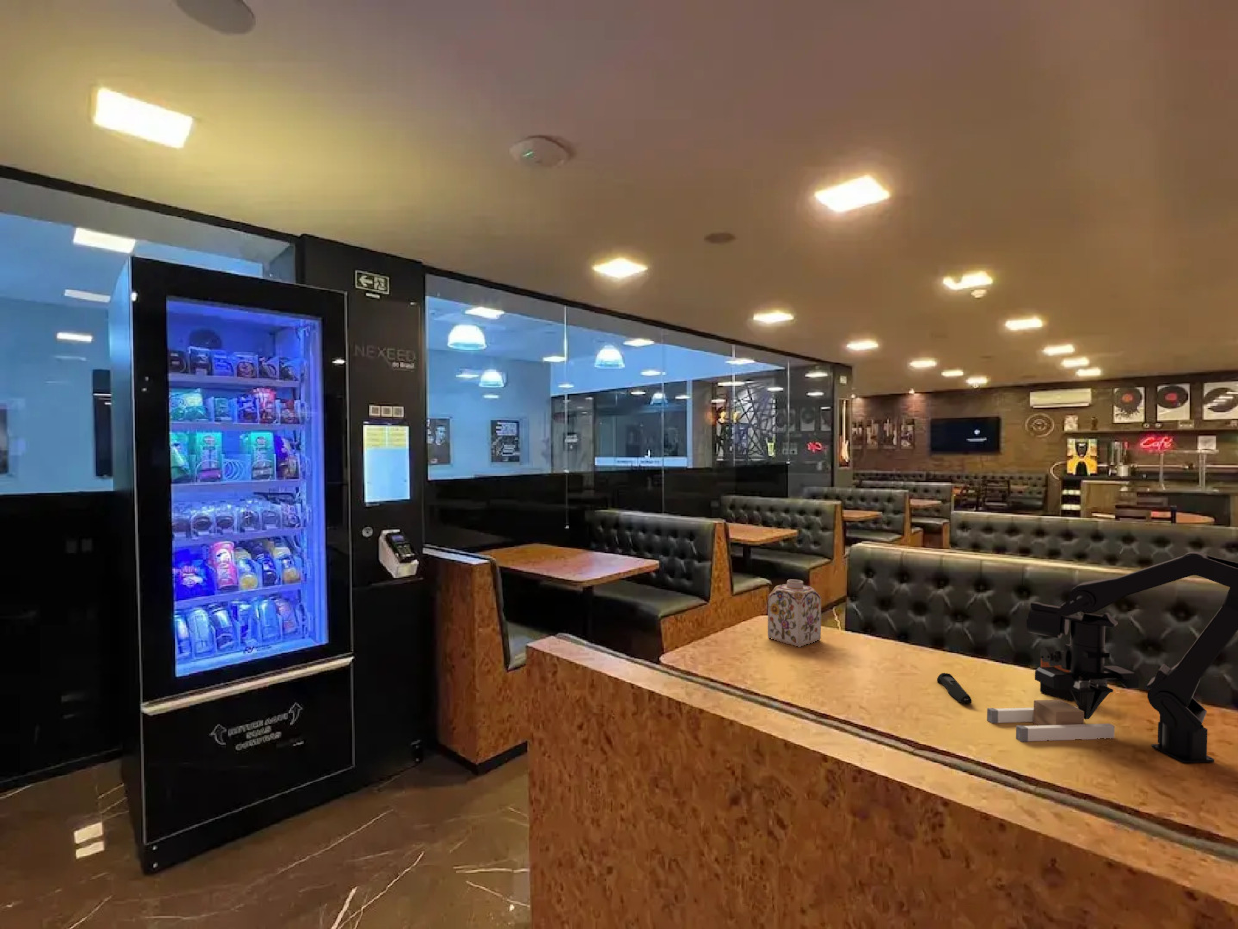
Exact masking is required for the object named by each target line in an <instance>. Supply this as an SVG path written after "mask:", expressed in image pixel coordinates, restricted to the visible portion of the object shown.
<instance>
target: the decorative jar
mask: <svg viewBox="0 0 1238 929" xmlns="http://www.w3.org/2000/svg"><path fill="white" fill-rule="evenodd" d="M767 603H768V604H767V609H768V610H767V638H768V639H769V638H772V639H774V640H773V641H775V640H777V641H776V642H779V641H780V642H779V643H782V642H783V643H782V644H785V643H786V645H789V644H792V645H791V646H793V645H795V646H794V647H796V646H798V647H797V648H802V647H805V646H807V645H806V644H808V645H811V644H814V643H816V642H815V641H817V640H820V639H821V638H822V636H821V633H822V596H821V595H820V594H819V593H818V591H817V590H816V589H815V588H813V587H812V586H809V585H805V584H804V581H803V580H801V579H791V578H790V579H788V580H787V581H786V583H785V584H784V583H783V584H779V585H776V586H775V587H774V588H773V589H772V591H770V593H768V602H767ZM820 641H821V640H820ZM813 642H814V643H813ZM817 642H818V641H817ZM810 643H811V644H810ZM804 645H805V646H804ZM801 646H802V647H801Z"/></svg>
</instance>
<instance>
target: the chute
mask: <svg viewBox="0 0 1238 929" xmlns="http://www.w3.org/2000/svg"><path fill="white" fill-rule="evenodd" d="M1073 706H1074V705H1073ZM1074 707H1076V708H1078V707H1077V706H1074ZM1033 715H1034V707H1008V708H1003V707H1002V708H994V707H986V721H988V722H989V723H991V724H999V723H1000V724H1001V723H1003V724H1004V723H1006V724H1007V723H1029V722H1030V723H1033ZM1097 738H1098V739H1097ZM1100 738H1104V739H1103V740H1105V739H1106V738H1110V739H1111V738H1113V739H1115V725H1114V724H1112V723H1109V722H1108V723H1084V724H1074V725H1040V726H1037V725H1020V724H1019V725H1015V739H1016V740H1018V741H1019V742H1021V743H1024V742H1026V743H1027V742H1041V741H1042V742H1043V741H1044V742H1046V741H1047V740H1049V741H1073V740H1074V741H1076V740H1075V739H1082V740H1101V739H1100ZM1110 739H1109V740H1110ZM1111 740H1112V739H1111ZM1049 741H1048V742H1049Z"/></svg>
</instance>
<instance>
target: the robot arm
mask: <svg viewBox="0 0 1238 929" xmlns="http://www.w3.org/2000/svg"><path fill="white" fill-rule="evenodd" d="M1191 576H1196V577H1197V576H1198V577H1201V578H1204V579H1206V580H1209V581H1211V582H1215V583H1217V584H1220V585H1223V586H1225V587H1228V588H1229V589H1228V591H1227V594H1226V597H1224V601H1223V603H1222V606H1221V607H1220V608H1219V609H1218V611H1217V612H1216V614H1215V615H1214V616H1213V617H1212V619H1211V620H1210V621H1209V623H1208V624H1207V625H1206V627H1205V628H1204V629H1203V631H1202V632H1201V633H1200V634H1199V636H1198V637H1197V638H1196V640H1195V641H1194V643H1193V644H1191V645H1192V646H1191V647H1190V648H1189V649H1188V651H1186V653H1185V654H1184V655H1183V657H1182V658H1181V659H1180V661H1179V662H1177V664H1175V665H1173V666H1172V667H1169V666H1167V664H1165V663H1163V664H1161V666H1160V668H1159V669H1158V671H1157V673H1156V675H1155V676H1154V677H1152V678H1150V681H1149V682H1148V683H1147V684H1146V688H1147V689H1149V690H1148V692H1147V696H1146V697H1147V700H1148V702H1149V705H1150V707H1152V708H1153V709H1154V710H1155V711H1157V712H1158V714H1159V722H1157V743H1152V744H1151V748H1152V749H1153V748H1154V749H1155V750H1157V751H1159V752H1161V753H1162V754H1164V755H1167V756H1168V757H1170V758H1173V759H1175V760H1177V761H1178V762H1180V763H1184V764H1188V763H1189V764H1191V763H1192V764H1193V763H1195V764H1196V763H1214V762H1215V758H1213V757H1211V756H1209V755H1208V753H1207V752H1208V728H1206V727H1205V726H1204V725H1203V723H1204V720H1205V718H1206V715H1207V714H1208V713H1207V712H1208V711H1207V709H1206V708H1204V707H1203V706H1202V705H1201V704H1200V703H1199V702H1198V701H1197V700H1196V699H1195V698H1194V694H1195V693H1196V690H1197V688H1198V685H1199V683H1200V681H1201V678H1202V677H1203V675H1204V674H1205V673H1206V672H1207V671H1208V670H1209V668H1210V666H1211V665H1212V664H1213V663H1214V661H1215V660H1216V659H1217V657H1218V656H1219V655H1220V654H1221V652H1222V651H1223V650H1224V649H1225V647H1226V646H1227V645H1228V643H1229V642H1230V641H1231V640H1232V638H1233V637H1234V635H1236V633H1237V632H1238V562H1236V561H1233V560H1227V559H1224V558H1219V557H1216V556H1212V555H1209V554H1208V555H1207V554H1205V553H1203V552H1200V551H1190V552H1186V553H1185V554H1183V555H1182V556H1178V557H1175V558H1172V559H1169V560H1167V561H1166V560H1165V561H1163V562H1160V563H1157V564H1154V565H1151V566H1148V567H1145V568H1142V569H1138V570H1136V571H1132V572H1130V573H1127V574H1124V575H1121V576H1116V577H1109V578H1101V579H1094V580H1089V581H1083V582H1081V583H1079V584H1077V585H1076V586H1074V587H1072V588H1071V589H1070V590H1069V593H1068V600H1067V601H1065V602H1064V603H1062V604H1061V605H1060V606H1058V605H1051V604H1045V603H1042V602H1039V601H1033V602H1031V603H1030V609H1029V612H1028V615H1027V618H1026V629H1027V630H1026V631H1027V632H1028V633H1030V634H1035V635H1040V636H1045V637H1050V638H1056V639H1061V638H1062V636H1063V635H1065V636H1067V635H1068V633H1069V630H1070V633H1069V634H1070V637H1069V644H1066V643H1065V645H1064V646H1063V650H1056V649H1055V647H1053V646H1041V647H1040V653H1039V656H1040V661H1041V660H1042V661H1043V662H1049V666H1050V667H1041V666H1038V667H1037V668H1036V669H1035V671H1034V680H1035V681H1037V682H1039V683H1040V682H1041V683H1043V684H1045V685H1047V686H1049V687H1051V688H1053V689H1057V690H1070V691H1071V693H1072V695H1073V697H1074V699H1075V700H1074V701H1075V704H1076V707H1077V708H1078V709H1080V710H1082V711H1084V720H1089V719H1091V717H1092V716H1093V715H1094V713H1095V711H1096V710H1097V709H1098V707H1099V706H1100V705H1101V704H1102V702H1104V700H1105V699H1106V698H1107V696H1109V694H1111V693H1114V689H1113V688H1111V687H1109V686H1108V682H1120V683H1121V685H1122V686H1123V687H1124V688H1126V689H1140V678H1139V677H1138V675H1137V673H1136V672H1134V671H1131V670H1129V669H1126V668H1123V667H1120V666H1117V665H1105V658H1107V659H1108V658H1110V656H1111V653H1110V652H1109V651H1106V649H1105V648H1106V644H1105V642H1106V628H1114V627H1116V626H1117V625H1118V623H1119V622H1118V621H1117V620H1116V619H1115V618H1114V617H1112V616H1111V615H1110V613H1109V612H1106V613H1104V614H1103V615H1099V614H1093V613H1096V612H1099V611H1100V610H1102V609H1104V608H1106V607H1108V606H1109V605H1112V604H1113V603H1115V602H1118V601H1119V600H1121V599H1123V598H1125V597H1127V596H1130V595H1133V594H1136V593H1140V592H1143V591H1147V590H1149V589H1153V588H1157V587H1159V586H1163V585H1166V584H1169V583H1171V582H1172V583H1173V582H1175V581H1178V580H1179V581H1180V580H1182V579H1186V578H1188V577H1191ZM1077 613H1082V614H1083V613H1084V614H1083V615H1075V614H1077ZM1055 665H1061V668H1063V669H1065V670H1069V671H1070V672H1064V671H1062V670H1059V669H1057V668H1055V667H1053V666H1055Z"/></svg>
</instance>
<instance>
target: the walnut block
mask: <svg viewBox="0 0 1238 929" xmlns="http://www.w3.org/2000/svg"><path fill="white" fill-rule="evenodd" d="M1076 707H1077V706H1075V707H1074V705H1072V704H1070V703H1068V702H1066V701H1064V700H1062V699H1034V700H1033V708H1034V715H1033V722H1032V723H1033V725H1035V726H1037V725H1038V726H1040V725H1074V724H1085V719H1084V711H1082V710H1080V709H1078V707H1077V708H1076Z"/></svg>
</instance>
